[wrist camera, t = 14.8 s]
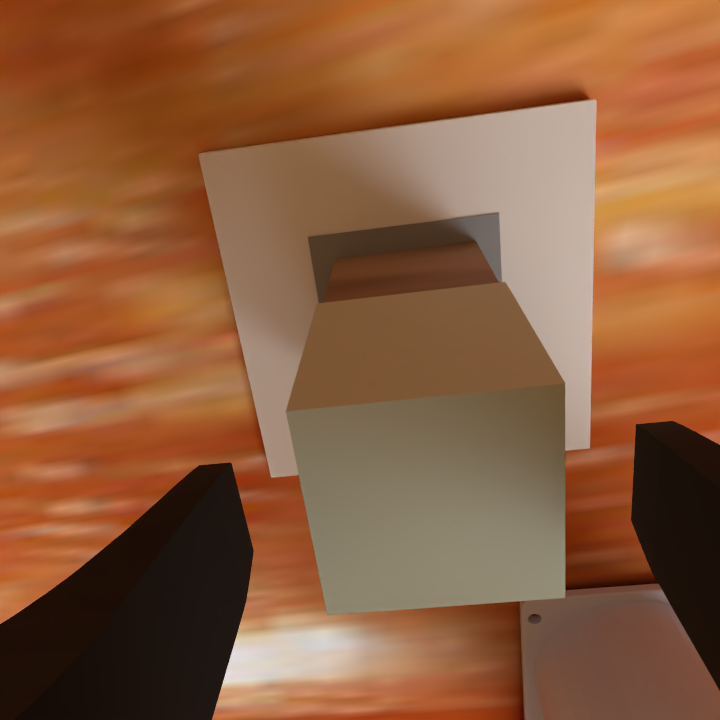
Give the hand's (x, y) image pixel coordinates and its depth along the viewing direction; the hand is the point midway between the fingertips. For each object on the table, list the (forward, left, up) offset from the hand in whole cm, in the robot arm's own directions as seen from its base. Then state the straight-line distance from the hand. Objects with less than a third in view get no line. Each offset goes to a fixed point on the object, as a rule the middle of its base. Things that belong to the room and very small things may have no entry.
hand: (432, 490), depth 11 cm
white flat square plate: (0, 0, -10) cm, 10 cm away
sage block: (0, 0, -4) cm, 4 cm away
